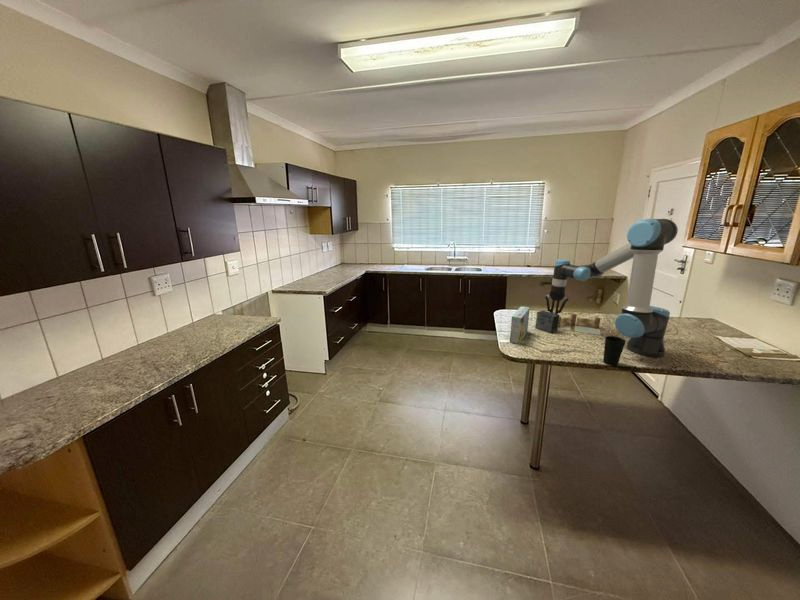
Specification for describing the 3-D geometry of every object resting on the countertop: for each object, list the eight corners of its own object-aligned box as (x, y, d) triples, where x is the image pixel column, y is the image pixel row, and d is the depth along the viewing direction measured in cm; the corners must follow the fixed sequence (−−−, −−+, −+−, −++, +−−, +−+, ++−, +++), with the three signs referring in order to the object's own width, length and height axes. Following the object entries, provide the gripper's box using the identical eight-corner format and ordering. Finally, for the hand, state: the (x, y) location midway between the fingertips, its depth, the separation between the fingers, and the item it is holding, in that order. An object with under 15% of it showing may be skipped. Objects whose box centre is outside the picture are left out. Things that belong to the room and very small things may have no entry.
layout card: (598, 326, 188) (598, 325, 188) (600, 335, 175) (600, 334, 175) (548, 319, 201) (548, 318, 201) (546, 326, 187) (546, 326, 187)
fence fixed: (598, 328, 185) (600, 317, 183) (598, 329, 183) (600, 318, 181) (569, 323, 192) (571, 313, 190) (569, 325, 190) (571, 314, 188)
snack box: (517, 329, 183) (520, 305, 178) (527, 331, 180) (530, 307, 175) (508, 342, 166) (511, 315, 161) (519, 344, 163) (522, 317, 158)
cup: (602, 365, 141) (607, 341, 138) (598, 358, 148) (603, 335, 144) (622, 368, 138) (628, 343, 135) (617, 360, 145) (622, 337, 142)
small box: (557, 331, 180) (560, 314, 178) (551, 333, 177) (553, 316, 174) (540, 326, 189) (543, 309, 186) (534, 328, 185) (536, 311, 182)
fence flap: (568, 323, 191) (569, 314, 189) (572, 325, 188) (573, 315, 187) (553, 326, 187) (555, 316, 185) (557, 327, 184) (558, 318, 183)
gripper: (546, 285, 181) (540, 322, 188) (571, 288, 176) (563, 326, 183) (547, 282, 188) (541, 319, 195) (570, 285, 182) (563, 322, 189)
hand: (552, 322), depth 189 cm, fingers closed
